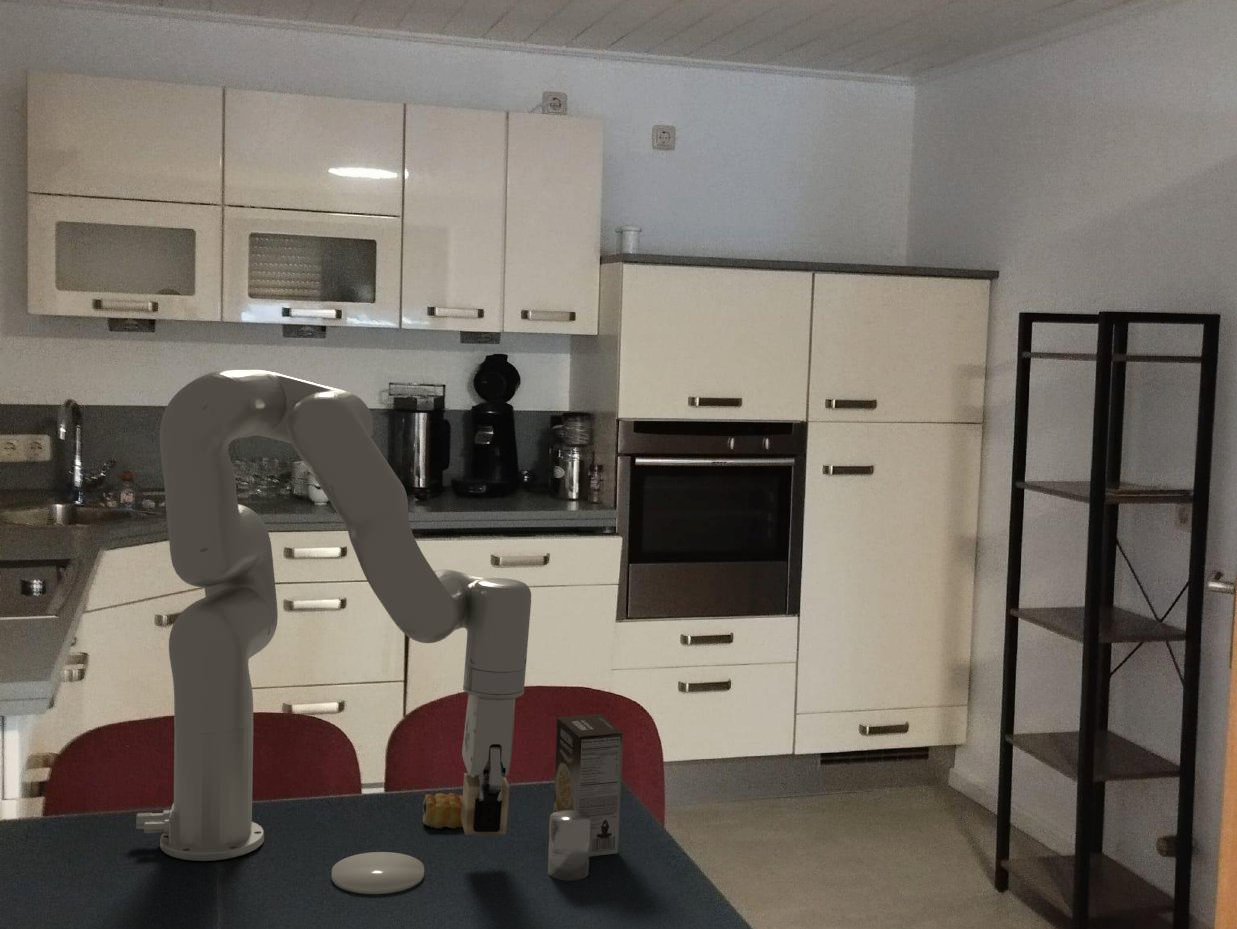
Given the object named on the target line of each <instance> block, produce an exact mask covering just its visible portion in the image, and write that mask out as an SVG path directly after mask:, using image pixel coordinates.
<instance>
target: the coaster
mask: <svg viewBox="0 0 1237 929" xmlns="http://www.w3.org/2000/svg"><path fill="white" fill-rule="evenodd" d="M424 878H425V866H424V864H423V863H422V861H420V860H419V859H417V858H416V857H415V856H414V857H413V856H412V855H408V854H404V853H400V852H399V853H398V852H389V851H375V852H373V851H372V852H365V853H363V852H362V853H358V854H354V855H350V856H348V857H346V858H342V859H341V860H339V861H338V862H336V863H335V864H334V865H333V866H332V868H331V881H332V883H333V884H334V885H335V886H336V887H338V888H340V889H342V890H344V891H348V892H351V893H355V894H356V893H357V894H365V895H382V894H383V895H384V894H385V895H386V894H394V893H397V892H403V891H406V890H408V889H411V888H413V887H416V885H418V884H420V883H421V882H422V881H423V879H424Z"/></svg>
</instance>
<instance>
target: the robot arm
mask: <svg viewBox="0 0 1237 929" xmlns="http://www.w3.org/2000/svg"><path fill="white" fill-rule="evenodd" d="M373 419H374V418H373V416H372V412H371V411H370V409H369V406H368V405H367V404H366V402H364V401H363V400H362V399H361V398H360V397H359V396H358V395H356V394H354V393H352V392H349V391H347V390H343V389H339V388H333V387H331V386H325V385H322V384H318V383H314V382H311V381H307V380H303V379H299V378H296V377H295V378H294V377H291V376H289V375H288V376H287V375H285V374H280V373H277V372H272V371H269V370H263V369H224V370H218V371H213V372H210V373H207V374H204V375H202V376H200V377H198V378H195V379H193V380H192V381H190V382H189V383H187V384H186V385H184V386H183V387H182V388H181V389H179V391H177V392H176V393H175V394H174V395H173V397H172V398H171V399H170V400H169V402H168V404H167V406H166V407H165V410H164V411H163V415H162V418H161V422H160V425H159V426H160V427H159V450H160V459H161V464H162V465H161V466H162V473H163V474H162V475H163V482H164V496H165V497H164V501H165V510H166V511H165V512H166V521H167V528H168V529H167V531H168V541H169V542H168V543H169V544H168V545H169V554H170V560H171V564H172V567H173V570H174V571H175V573H176V575H177V576H178V577H179V579H180V580H182V581H183V582H184V583H186V584H188V585H190V586H192V587H193V586H194V587H199V588H204V594H205V595H204V596H205V597H203V598H200V599H198V600H196V601H195V602H193V603H192V604H190V605H189V606H187V607H185V609H184V610H182V612H181V613H180V614H179V615H178V617H177V618H175V621H174V623H173V624H172V627H171V629H170V633H169V638H168V654H169V662H170V669H171V674H172V675H171V676H172V682H173V683H172V684H173V685H172V686H173V704H174V705H173V706H174V709H173V710H174V712H173V713H174V714H173V715H174V716H173V718H174V719H173V724H174V734H173V735H174V737H173V738H174V744H173V750H174V751H173V752H174V753H173V754H174V756H173V759H174V760H173V803H172V805H171V809H164V810H163V811H162V812H156V813H153V812H138V813H137V814H136V820H135V821H136V822H135V823H136V824H135V826H136V830H137V829H140V830H141V829H143V832H144V834H155V833H162V834H161V836H160V837H159V838H160V840H159V841H160V842H159V843H160V844H159V846H160V849H161V851H162V852H163V853H165V854H166V855H168V856H170V857H173V858H175V859H178V860H179V859H180V860H184V861H192V862H193V861H195V862H196V861H197V862H209V861H222V860H227V859H234V858H237V857H241V856H245V855H247V854H249V853H252V852H253V851H256V850H257V849H258V848H259V847H261V845H263V843H264V842H265V830H264V829H263V827H262V826H261V825H259V824H258V823H256V822H254V821H253V777H254V775H253V770H254V769H253V767H254V766H253V765H254V763H253V762H254V761H253V760H254V694H253V687H252V681H251V674H250V669H249V668H250V667H249V659H251V658H252V657H254V656H255V655H256V654H258V653H260V652H261V651H262V650H263V649H265V648H266V647H267V646H268V644H269V643H270V642H271V641H272V640H273V638H274V636H275V634H276V630H277V626H278V614H279V612H278V599H277V589H276V579H275V569H274V559H273V549H272V541H271V537H270V534H269V531H268V529H267V526H266V524H265V522H264V520H263V519H262V518H261V516H259V514H258V513H256V512H255V510H253V509H252V508H249V507H247V506H245V505H243V504H240V503H239V502H238V496H237V481H236V480H237V478H236V473H235V469H234V465H233V462H232V459H231V456H230V454H229V453H230V452H229V446H230V444H231V443H232V442H233V441H235V440H237V439H241V438H250V437H255V436H260V437H263V438H268V439H271V440H276V441H280V442H282V443H283V442H284V443H287V444H290V445H292V446H293V448H294V450H295V451H296V452H297V455H298V456H299V458H300V459H301V461H302V462H303V463H304V465H305V466H306V468H307V469H308V470H309V473H310V474H311V475H312V477H313V478H314V479H315V482H317V484H318V486H319V487H320V489H321V491H323V493H324V494H325V496H326V498H327V499H328V500H329V502H330V504H331V506H332V507H333V509H334V510H335V511H336V513H337V515H338V517H340V519H341V521H342V523H343V524H344V526H345V528H346V531H347V533H348V536H349V540H350V544H351V546H352V548H353V551H354V553H355V555H356V558H357V562H359V566H360V568H361V571H362V573H363V575H364V577H365V579H366V580H367V582H368V584H369V586H370V588H371V589H372V591H373V593H374V594H375V596H376V597H377V598H378V600H379V601H380V603H381V605H382V607H383V608H384V609H385V611H386V612H387V614H388V615H389V617H390V618H391V619H392V621H393V622H394V624H395V625H396V627H397V628H399V630H400V631H401V632H402V633H403V634H404V635H405V636H406V637H408V638H410V639H411V640H413V641H415V642H419V643H421V644H435V643H438V642H441V641H442V640H445V639H446V638H447V637H448V636H451V634H452V633H454V632H455V631H457V630H459V629H465V631H466V632H467V633H466V634H467V635H466V646H465V647H466V648H465V660H464V671H463V672H464V674H463V685H462V690H463V692H464V693H466V694H468V697H467V704H466V712H465V713H466V714H465V720H464V722H465V723H464V732H463V740H462V749H461V754H462V755H461V757H462V760H463V764H464V766H465V768H466V771H467V773H469V775H470V776H471V777H475V775H479V787H478V799H475V812H474V825H473V829H474V831H475V832H498V831H499V830H500V821H501V808H502V776H503V777H504V778H506V777H507V776H508V775H510V771H511V763H512V752H513V739H514V723H515V716H516V715H515V707H516V705H515V703H516V698H518V697H522V696H523V695H524V694H525V681H526V670H527V659H528V646H529V643H528V642H529V633H530V632H529V631H530V623H531V622H530V620H531V608H532V591H531V589H530V588H531V587H529V586H528V584H526V583H525V582H523V581H520V580H517V579H514V578H513V579H511V578H504V577H489V578H486V577H481V576H476V575H472V574H467V573H464V572H461V571H457V570H453V569H437V570H433V567H432V566H431V565H430V563H429V562H428V560H427V558H426V557H425V555H424V554H423V552H422V551H421V547H420V546H419V544H418V542H417V541H416V540H417V539H416V538H415V536H414V534H413V530H412V527H411V523H410V516H409V501H408V496H407V491H406V489H405V486H404V484H403V483H402V481H401V480H400V479H399V477H398V475H397V474H396V473H395V471H394V470H393V468H392V466H390V464H389V463H388V460H387V459H386V458H385V456H384V455H383V453H382V452H381V450H380V448H379V447H378V446H377V444H376V443H375V441H374V439H373V438H372V435H373V431H374V430H373V429H374V422H373ZM483 773H489V774H483ZM484 780H489V782H488V783H489V784H486V785H485V786H484Z"/></svg>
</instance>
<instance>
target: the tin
mask: <svg viewBox="0 0 1237 929" xmlns="http://www.w3.org/2000/svg"><path fill="white" fill-rule="evenodd" d="M548 827H549V829H548V830H549V832H548V833H549V834H548V859H547V860H548V862H547V863H548V865H547V874H548V876H550V877H551V878H553V879H556V880H560V881H566V882H567V881H579V880H583V879H585V878H587V877H588V875H589V871H590V870H589V867H590V866H589V865H590V857H589V844H590V816H589V815H588V814H586V813H584V812H580V811H574V810H563V811H558V812H554V811H553V812H552V813H551V814H550V815H549V826H548Z"/></svg>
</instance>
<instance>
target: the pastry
mask: <svg viewBox="0 0 1237 929" xmlns="http://www.w3.org/2000/svg"><path fill="white" fill-rule="evenodd" d="M462 797H463V794H461V795H460V794H457V793H454V792H450V793H448V794H446V793H441V792H439V793H436V794H435V795H433V794H431V793H430V794H429V793H427V794H425V796H424V800H423V802H422V811H423V814H422V823H423V824H424V825H426V826H427V827H429V826H430V828H432V827H434V828H433V829H442V828H444V827H447V828H449V829H457V828H456V827H459V828H463V825H462V822H461V810H462Z"/></svg>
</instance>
